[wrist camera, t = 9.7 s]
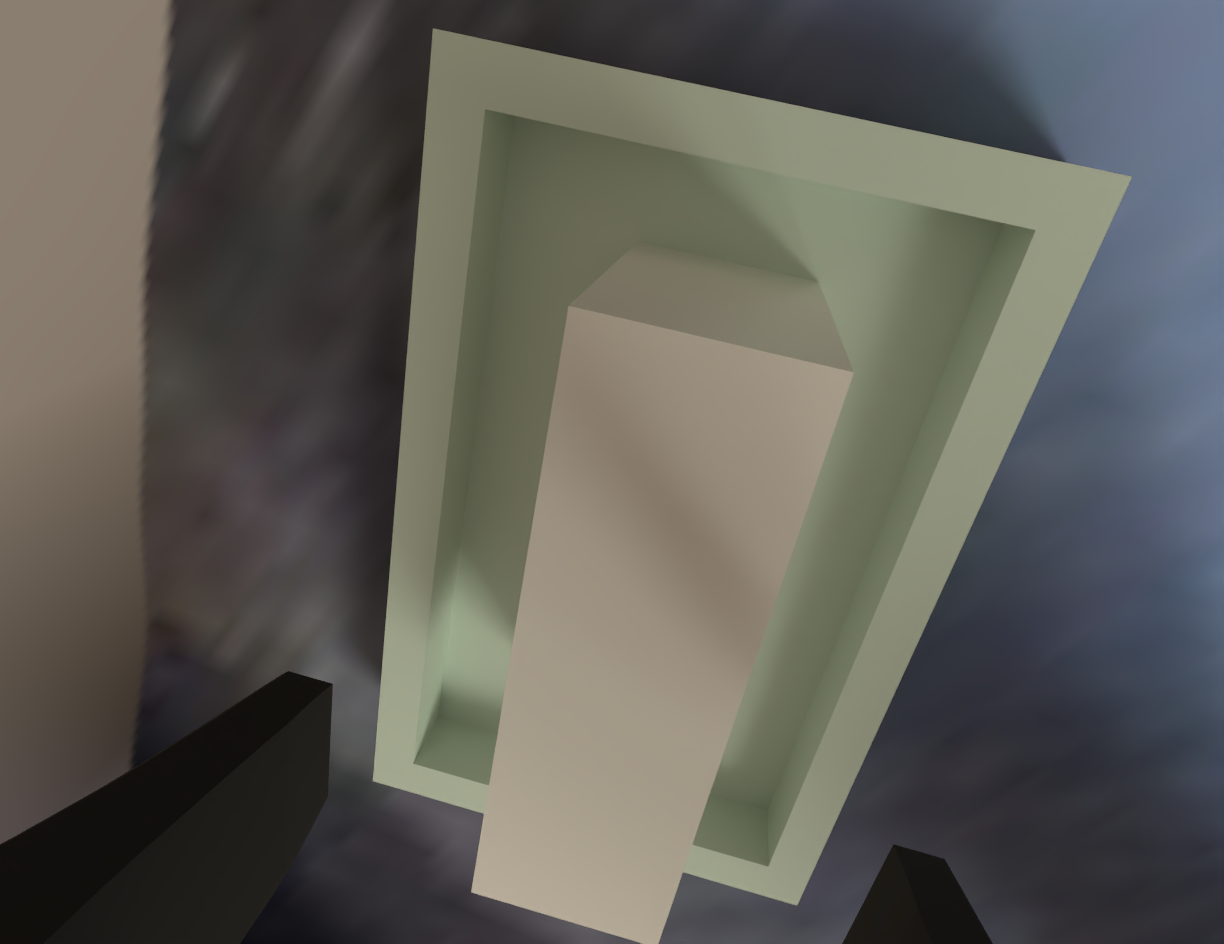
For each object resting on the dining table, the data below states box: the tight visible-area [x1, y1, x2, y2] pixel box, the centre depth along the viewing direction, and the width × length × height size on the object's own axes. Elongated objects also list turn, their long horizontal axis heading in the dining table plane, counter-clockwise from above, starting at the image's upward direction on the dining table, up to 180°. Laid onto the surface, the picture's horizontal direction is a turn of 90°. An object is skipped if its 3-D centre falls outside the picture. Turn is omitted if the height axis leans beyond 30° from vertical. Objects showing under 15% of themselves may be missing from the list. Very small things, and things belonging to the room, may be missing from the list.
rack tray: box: [373, 28, 1132, 905], centre depth 17 cm, size 11×17×2 cm, turn 169°
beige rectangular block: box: [471, 242, 854, 944], centre depth 14 cm, size 4×11×6 cm, turn 169°
